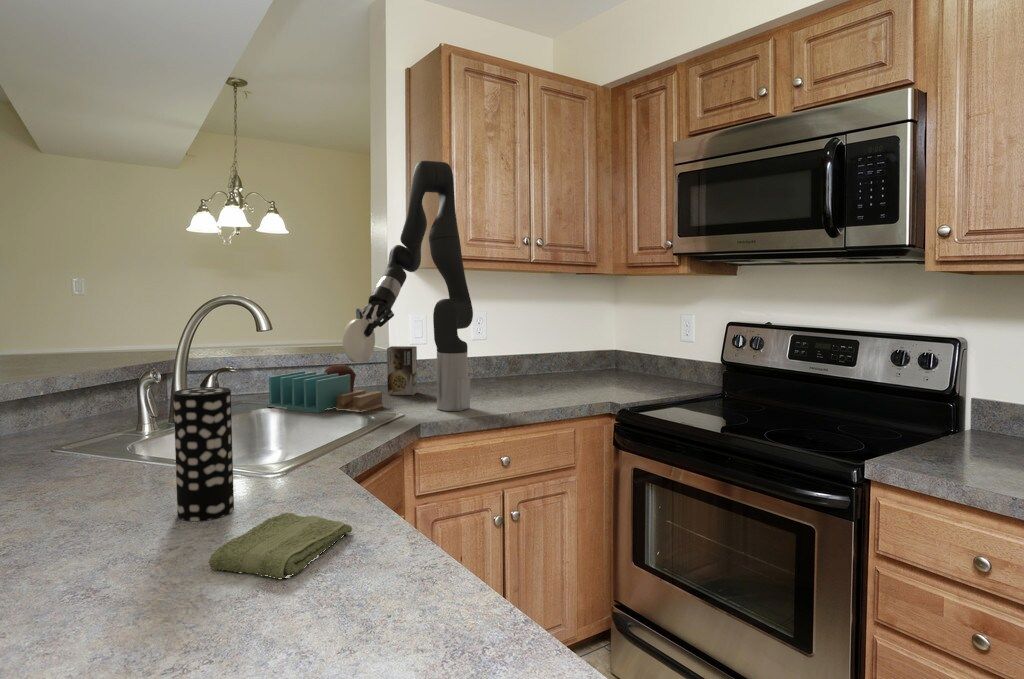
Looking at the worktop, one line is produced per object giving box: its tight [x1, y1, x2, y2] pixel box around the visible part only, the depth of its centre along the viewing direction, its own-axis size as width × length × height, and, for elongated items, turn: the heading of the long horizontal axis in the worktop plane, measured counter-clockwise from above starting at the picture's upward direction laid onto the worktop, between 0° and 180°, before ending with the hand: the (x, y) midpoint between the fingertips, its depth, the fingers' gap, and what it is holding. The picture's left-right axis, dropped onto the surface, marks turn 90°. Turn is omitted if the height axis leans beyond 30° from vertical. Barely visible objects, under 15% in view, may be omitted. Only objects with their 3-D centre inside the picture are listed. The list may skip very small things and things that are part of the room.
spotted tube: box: [172, 386, 235, 522], centre depth 104 cm, size 8×8×20 cm
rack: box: [266, 370, 350, 414], centre depth 196 cm, size 19×16×9 cm
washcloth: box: [207, 512, 353, 578], centre depth 90 cm, size 13×18×3 cm
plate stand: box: [335, 389, 384, 411], centre depth 193 cm, size 9×11×4 cm
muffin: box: [323, 364, 357, 392], centre depth 216 cm, size 12×11×10 cm
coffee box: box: [386, 345, 418, 396], centre depth 219 cm, size 9×6×16 cm
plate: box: [342, 318, 376, 363], centre depth 191 cm, size 2×13×13 cm, turn 157°
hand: (362, 334), depth 192 cm, fingers closed on plate, 2 cm apart
